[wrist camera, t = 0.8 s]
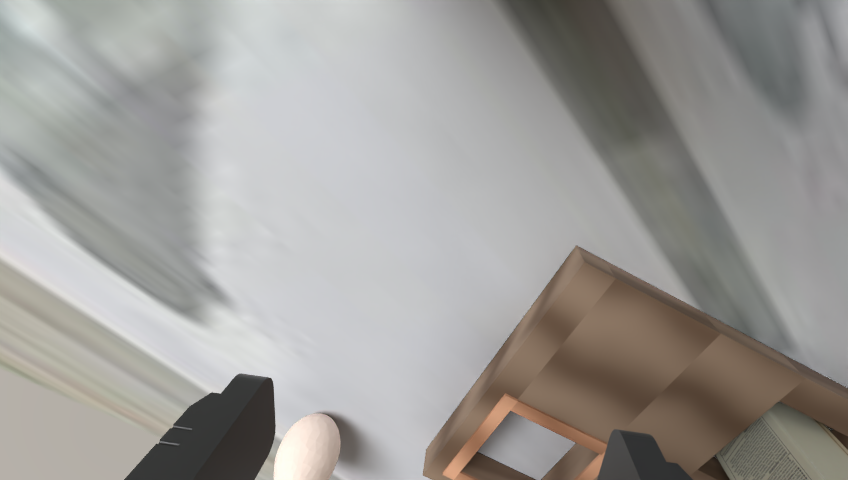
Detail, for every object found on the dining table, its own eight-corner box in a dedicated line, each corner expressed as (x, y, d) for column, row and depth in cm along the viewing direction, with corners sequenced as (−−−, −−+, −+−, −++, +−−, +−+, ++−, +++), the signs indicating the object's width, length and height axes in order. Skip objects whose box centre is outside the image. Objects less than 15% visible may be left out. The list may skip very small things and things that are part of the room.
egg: (317, 445, 38) (282, 528, 32) (287, 408, 37) (243, 486, 30) (360, 430, 37) (333, 513, 30) (330, 391, 36) (294, 469, 29)
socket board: (576, 245, 28) (585, 263, 26) (896, 414, 30) (933, 446, 27) (426, 449, 37) (422, 477, 34) (681, 569, 39) (694, 604, 36)
